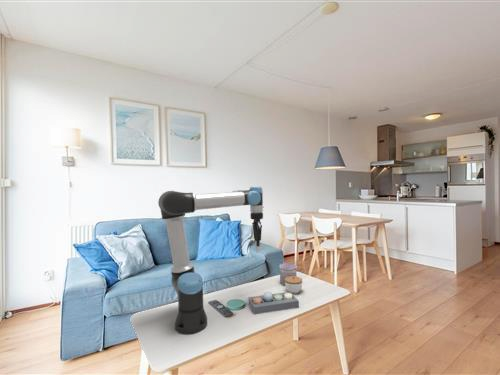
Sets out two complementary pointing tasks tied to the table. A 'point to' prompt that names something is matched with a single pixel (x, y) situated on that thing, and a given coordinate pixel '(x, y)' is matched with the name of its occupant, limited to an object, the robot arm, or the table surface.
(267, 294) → the pale blue button
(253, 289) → the table surface
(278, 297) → the sage button
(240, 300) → the table surface
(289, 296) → the cream button
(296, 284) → the lidded jar
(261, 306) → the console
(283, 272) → the can
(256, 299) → the terracotta button
